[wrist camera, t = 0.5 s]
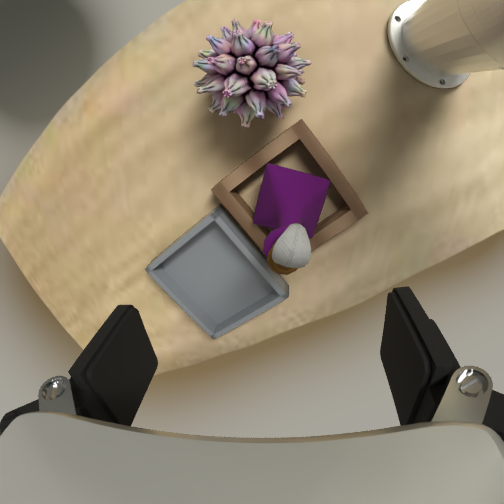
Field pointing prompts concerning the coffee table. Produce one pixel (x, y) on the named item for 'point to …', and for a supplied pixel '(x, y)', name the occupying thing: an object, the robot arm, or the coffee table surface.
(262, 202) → the perfume bottle
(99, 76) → the coffee table surface
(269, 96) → the flower
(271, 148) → the square wooden frame
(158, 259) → the tray
